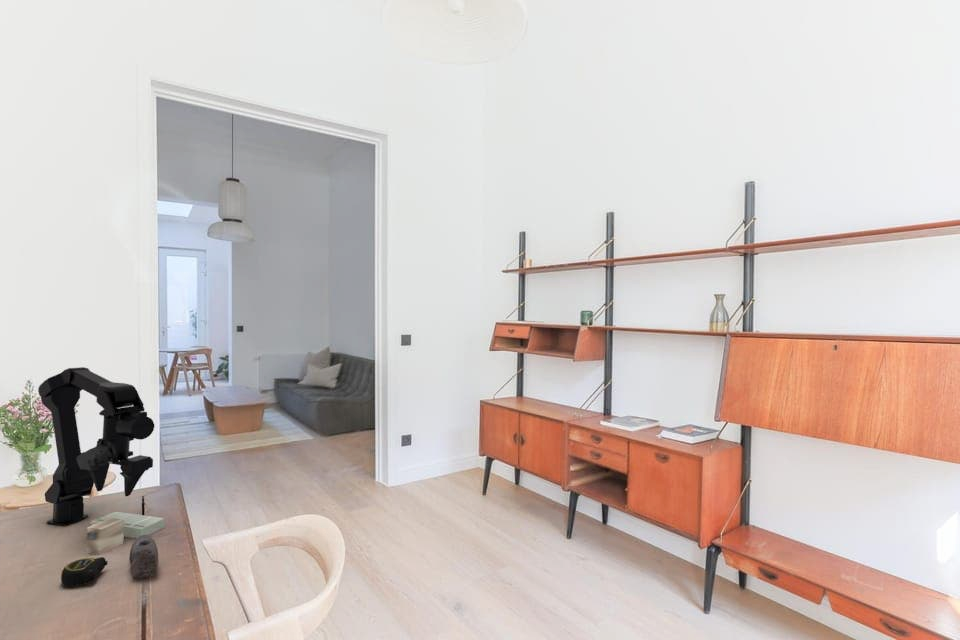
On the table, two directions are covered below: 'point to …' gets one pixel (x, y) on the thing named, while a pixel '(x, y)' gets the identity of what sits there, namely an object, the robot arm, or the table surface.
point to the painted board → (135, 523)
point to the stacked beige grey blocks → (105, 535)
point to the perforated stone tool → (143, 557)
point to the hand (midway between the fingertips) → (113, 493)
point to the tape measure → (82, 571)
